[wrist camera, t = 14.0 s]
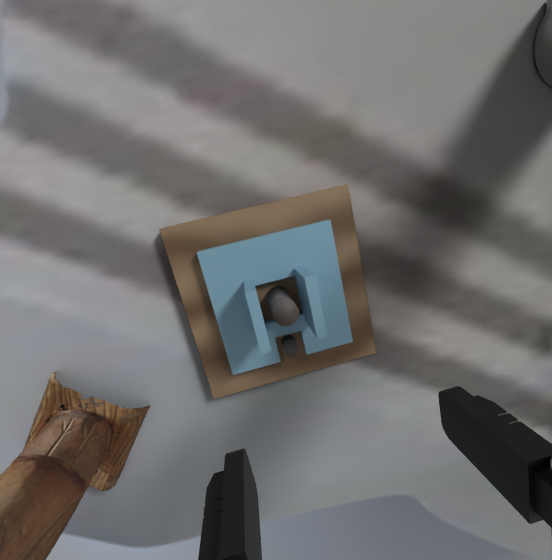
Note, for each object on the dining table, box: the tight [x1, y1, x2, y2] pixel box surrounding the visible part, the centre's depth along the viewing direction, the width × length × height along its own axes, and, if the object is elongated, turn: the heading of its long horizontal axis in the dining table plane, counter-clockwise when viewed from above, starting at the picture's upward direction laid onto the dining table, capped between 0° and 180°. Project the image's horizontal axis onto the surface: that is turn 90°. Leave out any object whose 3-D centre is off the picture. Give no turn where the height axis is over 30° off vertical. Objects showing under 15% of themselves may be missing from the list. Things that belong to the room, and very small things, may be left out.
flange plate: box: [197, 220, 353, 375], centre depth 29 cm, size 14×14×6 cm
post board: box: [159, 184, 376, 399], centre depth 30 cm, size 20×20×8 cm
